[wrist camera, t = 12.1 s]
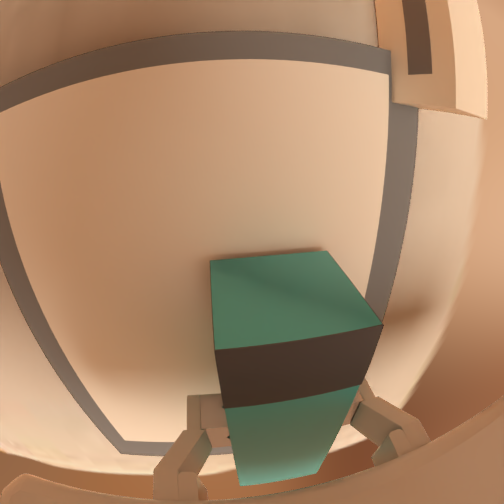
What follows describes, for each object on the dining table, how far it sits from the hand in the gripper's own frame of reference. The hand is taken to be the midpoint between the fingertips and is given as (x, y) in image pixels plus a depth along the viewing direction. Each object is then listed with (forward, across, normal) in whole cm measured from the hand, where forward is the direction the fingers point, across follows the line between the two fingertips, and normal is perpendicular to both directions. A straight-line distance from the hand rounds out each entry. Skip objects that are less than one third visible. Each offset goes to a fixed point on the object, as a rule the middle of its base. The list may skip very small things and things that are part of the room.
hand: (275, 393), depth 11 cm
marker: (+2, 0, 0) cm, 2 cm away
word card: (+3, -5, -15) cm, 16 cm away
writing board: (+3, +3, -1) cm, 4 cm away
